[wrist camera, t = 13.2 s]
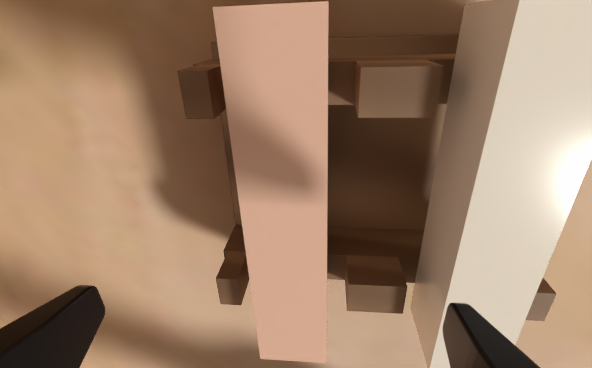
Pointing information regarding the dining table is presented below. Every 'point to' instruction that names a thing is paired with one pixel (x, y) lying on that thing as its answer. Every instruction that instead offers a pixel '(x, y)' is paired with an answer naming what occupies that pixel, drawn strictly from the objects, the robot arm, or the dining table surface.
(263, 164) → the clay strip
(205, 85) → the rack
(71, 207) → the dining table surface
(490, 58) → the strip
